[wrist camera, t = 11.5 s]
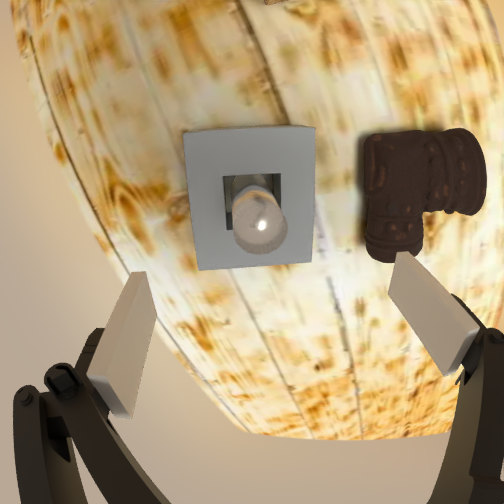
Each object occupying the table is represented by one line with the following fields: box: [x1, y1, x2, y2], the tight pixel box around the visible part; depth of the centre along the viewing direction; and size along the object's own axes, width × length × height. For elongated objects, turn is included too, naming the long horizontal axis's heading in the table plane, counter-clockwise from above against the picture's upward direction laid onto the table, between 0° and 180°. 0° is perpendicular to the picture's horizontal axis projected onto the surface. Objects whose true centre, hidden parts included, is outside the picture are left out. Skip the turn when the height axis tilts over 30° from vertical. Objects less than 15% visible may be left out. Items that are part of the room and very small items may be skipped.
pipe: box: [364, 128, 487, 263], centre depth 30 cm, size 10×15×15 cm
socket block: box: [183, 125, 315, 271], centre depth 30 cm, size 14×12×5 cm
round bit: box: [231, 174, 288, 255], centre depth 27 cm, size 4×4×12 cm
